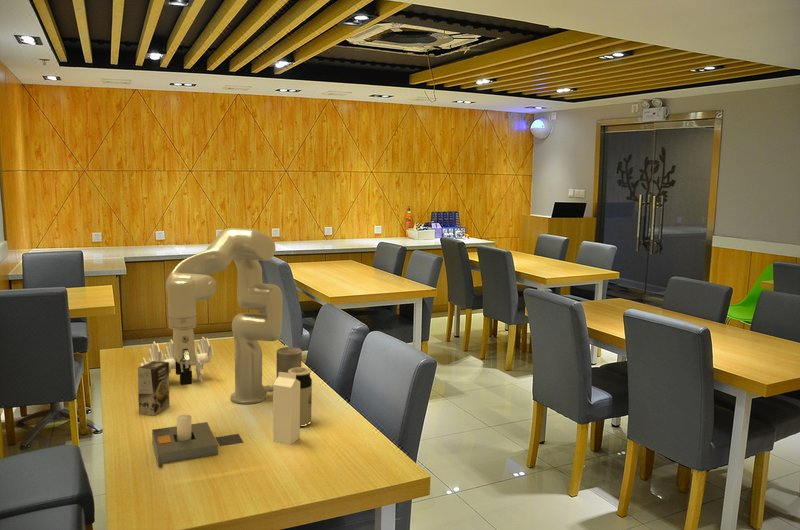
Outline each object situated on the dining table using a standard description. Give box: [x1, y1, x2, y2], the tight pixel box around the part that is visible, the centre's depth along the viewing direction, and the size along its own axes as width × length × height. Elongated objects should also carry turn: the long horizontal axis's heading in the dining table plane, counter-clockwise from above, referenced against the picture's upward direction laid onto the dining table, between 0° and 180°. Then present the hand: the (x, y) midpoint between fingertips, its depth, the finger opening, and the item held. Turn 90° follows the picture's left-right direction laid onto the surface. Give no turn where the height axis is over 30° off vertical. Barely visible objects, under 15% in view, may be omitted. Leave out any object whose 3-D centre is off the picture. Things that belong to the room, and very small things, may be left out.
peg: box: [176, 414, 192, 442], centre depth 183 cm, size 4×4×10 cm
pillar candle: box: [275, 346, 303, 379], centre depth 244 cm, size 10×10×15 cm
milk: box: [272, 372, 301, 446], centre depth 190 cm, size 6×6×22 cm
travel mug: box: [288, 366, 313, 426], centre depth 205 cm, size 8×8×18 cm
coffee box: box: [137, 361, 171, 417], centre depth 213 cm, size 9×6×16 cm
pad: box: [214, 433, 244, 447], centre depth 190 cm, size 7×7×1 cm
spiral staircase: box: [139, 336, 215, 383], centre depth 239 cm, size 18×18×25 cm
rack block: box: [151, 421, 219, 468], centre depth 184 cm, size 16×18×4 cm
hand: (183, 379), depth 181 cm, fingers open, 9 cm apart
